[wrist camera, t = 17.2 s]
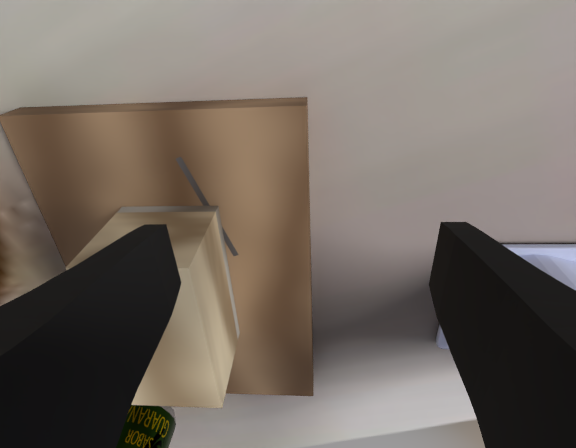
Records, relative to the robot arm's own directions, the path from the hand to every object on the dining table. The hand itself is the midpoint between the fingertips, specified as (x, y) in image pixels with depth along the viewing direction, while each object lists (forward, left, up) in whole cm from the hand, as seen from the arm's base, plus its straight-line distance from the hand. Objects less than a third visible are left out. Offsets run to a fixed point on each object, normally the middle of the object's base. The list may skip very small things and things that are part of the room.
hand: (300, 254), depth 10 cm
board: (+7, +8, -9) cm, 14 cm away
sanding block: (+7, +7, -8) cm, 13 cm away
